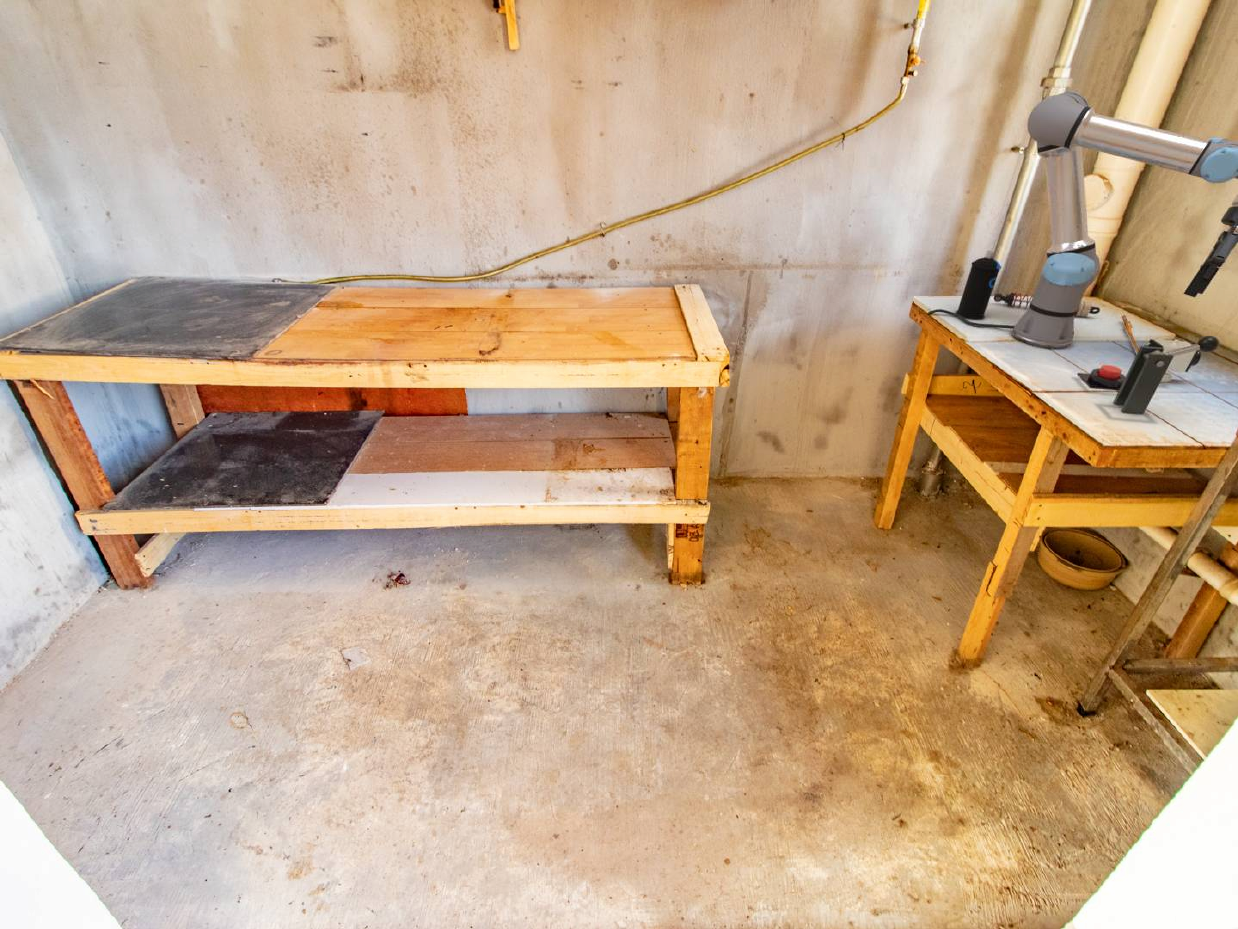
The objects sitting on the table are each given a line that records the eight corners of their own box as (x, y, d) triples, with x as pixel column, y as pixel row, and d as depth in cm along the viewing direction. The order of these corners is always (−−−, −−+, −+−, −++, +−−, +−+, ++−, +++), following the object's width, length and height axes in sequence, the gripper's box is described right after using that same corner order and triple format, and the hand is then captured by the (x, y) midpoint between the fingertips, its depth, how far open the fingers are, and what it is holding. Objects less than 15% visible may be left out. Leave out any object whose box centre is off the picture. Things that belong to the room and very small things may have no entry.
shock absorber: (995, 296, 211) (1102, 310, 201) (996, 286, 214) (1103, 300, 203) (990, 307, 215) (1096, 321, 205) (992, 298, 218) (1096, 311, 207)
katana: (1136, 366, 178) (1140, 357, 176) (1119, 320, 203) (1123, 312, 202) (1141, 367, 177) (1146, 358, 176) (1124, 321, 203) (1128, 312, 201)
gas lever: (1213, 345, 143) (1213, 331, 142) (1222, 352, 140) (1223, 337, 139) (1142, 364, 148) (1141, 350, 146) (1150, 370, 145) (1149, 356, 143)
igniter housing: (1116, 382, 167) (1123, 369, 165) (1131, 396, 160) (1138, 383, 158) (1074, 378, 168) (1080, 366, 166) (1088, 392, 162) (1094, 379, 160)
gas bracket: (1138, 408, 155) (1171, 346, 146) (1153, 422, 149) (1188, 359, 141) (1098, 404, 156) (1127, 343, 148) (1111, 418, 151) (1142, 355, 142)
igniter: (1113, 373, 164) (1117, 365, 163) (1121, 380, 161) (1125, 373, 159) (1094, 371, 165) (1098, 364, 164) (1102, 379, 161) (1106, 371, 160)
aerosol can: (956, 317, 204) (977, 252, 193) (955, 309, 210) (975, 246, 199) (985, 321, 202) (1007, 256, 191) (983, 312, 208) (1004, 249, 197)
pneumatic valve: (1184, 389, 164) (1208, 345, 158) (1134, 386, 165) (1156, 341, 159) (1171, 380, 169) (1195, 336, 162) (1123, 376, 170) (1144, 333, 163)
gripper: (1278, 205, 148) (1217, 296, 156) (1256, 222, 168) (1202, 301, 176) (1239, 196, 151) (1181, 285, 159) (1222, 213, 171) (1170, 291, 179)
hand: (1192, 294), depth 168 cm, fingers open, 13 cm apart
